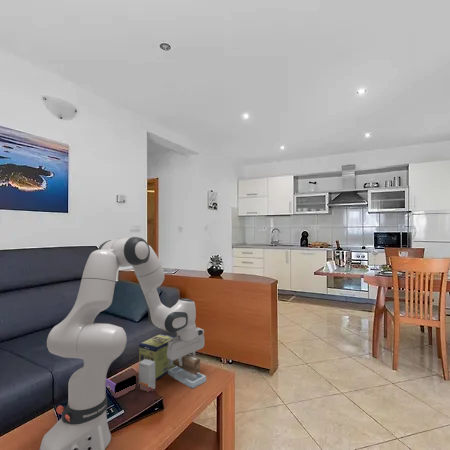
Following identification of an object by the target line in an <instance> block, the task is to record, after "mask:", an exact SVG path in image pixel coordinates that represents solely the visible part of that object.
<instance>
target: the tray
mask: <svg viewBox="0 0 450 450" xmlns="http://www.w3.org/2000/svg"><path fill="white" fill-rule="evenodd" d="M167 375H168V376H169V377H171V378H173V379H175V380H176V381H178V382H179V383H182V384H183V385H185V386H186V387H188V388H190V389H195V388H197V387H199V386H201V385H202V384H204V383H205V382H207V376H206V375H205V374H202V373H201V372H200V371H198V372H196V373H194V374H192V373H190V372H188V371H186V370H184V369H182V368H180V367H178V366H176V367H174V368H171V369H169V370H168V373H167Z"/></svg>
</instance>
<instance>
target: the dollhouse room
mask: <svg viewBox="0 0 450 450" xmlns="http://www.w3.org/2000/svg"><path fill="white" fill-rule="evenodd" d="M134 384H136V385H137V375H132V376H130V377H128V378H126V379H123V380H122V381H119V382H117V383H115V382H113V381H112V380H111V379H109V378H107V377H106V387H107V388H110V390H112V391H113V392H115V393H116V392H119V391H121V390H123V389H125V388H127V387H129V386H132V385H134Z"/></svg>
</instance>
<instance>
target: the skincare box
mask: <svg viewBox="0 0 450 450" xmlns="http://www.w3.org/2000/svg"><path fill="white" fill-rule="evenodd" d="M139 384H142V385H145V386H147V387H151V388H153V389H154V390H156V381H155V362H154V361H151V360H147V359H144V360H142V361H141V362H138V385H139Z"/></svg>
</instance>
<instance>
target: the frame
mask: <svg viewBox="0 0 450 450" xmlns="http://www.w3.org/2000/svg"><path fill="white" fill-rule="evenodd" d="M181 360H182V361H184V365H183V366H180V365H179V361H178V359H175V360H173V364H174V365H176V366H178V367H180V368H182V369H184V370H186V371H188V372H190V373H192V374H197V373H198V372H200V371H201V359H200V358H198V357H195V356H194V357H193V356H191V354H187V355H185V356H183V357H182V359H181Z"/></svg>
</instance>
